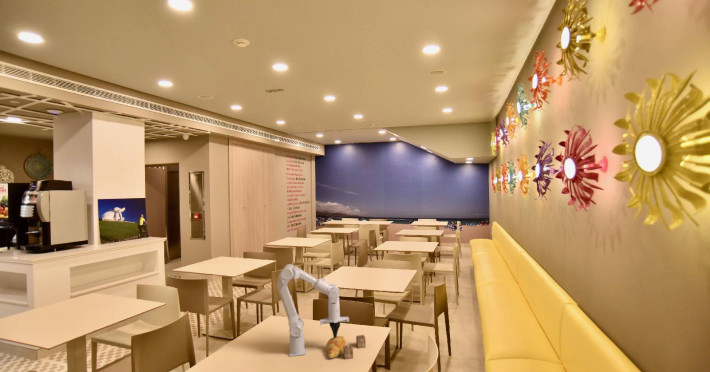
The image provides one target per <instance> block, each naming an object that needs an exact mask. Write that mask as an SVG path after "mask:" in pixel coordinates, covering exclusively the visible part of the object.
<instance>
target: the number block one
mask: <svg viewBox="0 0 710 372" xmlns="http://www.w3.org/2000/svg"><path fill="white" fill-rule="evenodd" d="M343 352H344V353H343V358H344V360H345V361H346V360H351V359H354V348H353V346H352V344H346V345H345V346H343Z"/></svg>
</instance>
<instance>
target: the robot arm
mask: <svg viewBox="0 0 710 372" xmlns="http://www.w3.org/2000/svg"><path fill="white" fill-rule="evenodd" d="M292 279H293V280H297V279H301V280H303V281H305V282H307V283H308V284H310V285H311V284H312V285H313V286H314V289H315V290H317V291H319V292H320V293H322V294H324V295H326V296H327V297H328V302H327V303H328V304H327V306H328V309H327V310H328V317H325V318H322V319H319V324H320V325H325V324H329V326H330V329H331V331H332V336H333V337H334V338H336V337H337V336H338V331H339V329H340V327H341V323H345V322H346V323H348V322H350V317H349V316H341V311H340V310H341V309H340V306H341V304H340V288H339V287H338V286H337V285H336V284H334V283H330V282H328V281H326V279H325V278H316V277H314V276H313V275H311V274H310V273H308V272H306V271H304V269H302V268H300V267H298V266H296V265H294V264H292V263H288V264H286V265H284V267H283V268H282V269H281V271H280V272H279V274H278V278H277V283H276V288H277V291H278V294H279V298H280V299H281V303H282V305H283V308H284V311H285V314H286V316H287V319H288V320H287V321H288V326H289V328H288V329H289V330H288V334H289V348H288V350H289V357H294V356H295V357H297V356H303V355H306V354H307V352H306V346H305V332H304V331H303V328H304V326H305V325H304V324H305V323H304V321H303V319H301V317H300V314H298V312H297V309H296V307H295V304H294V300H293V298H292V296H291V292H290V290H289V287H288V284H289V282H290V281H291V280H292ZM333 337H332V338H333Z"/></svg>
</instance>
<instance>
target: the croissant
mask: <svg viewBox="0 0 710 372" xmlns="http://www.w3.org/2000/svg"><path fill="white" fill-rule="evenodd" d="M345 345H347V342H346V339H345V338H344V336H341V335H337V337H336V338H334V337H332V338H330V339H329V340H328V341H327V342H326V344H325V346H326V351H327V353H328V357H329V359H334V358H337V357H339V356H341V355H342V354H344V352H343V346H345Z"/></svg>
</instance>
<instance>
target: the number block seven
mask: <svg viewBox="0 0 710 372" xmlns="http://www.w3.org/2000/svg"><path fill="white" fill-rule="evenodd" d="M355 338H356V340H355V341H356V342H355V344H356V347H357V349H365V348H366V336H365V334H359V335H356V337H355Z"/></svg>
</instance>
